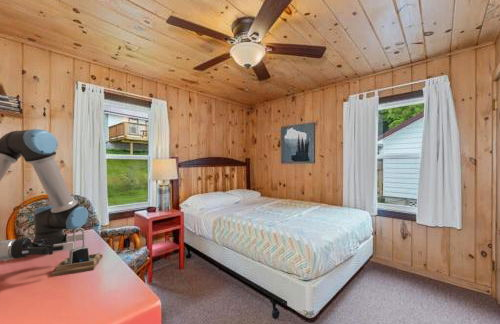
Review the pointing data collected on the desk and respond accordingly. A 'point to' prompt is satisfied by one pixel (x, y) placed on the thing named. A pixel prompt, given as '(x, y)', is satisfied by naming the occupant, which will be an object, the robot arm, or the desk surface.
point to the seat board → (77, 265)
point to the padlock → (79, 251)
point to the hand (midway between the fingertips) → (79, 240)
